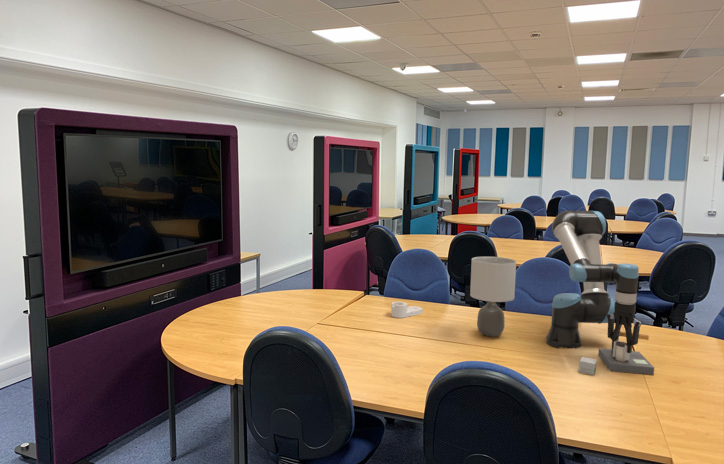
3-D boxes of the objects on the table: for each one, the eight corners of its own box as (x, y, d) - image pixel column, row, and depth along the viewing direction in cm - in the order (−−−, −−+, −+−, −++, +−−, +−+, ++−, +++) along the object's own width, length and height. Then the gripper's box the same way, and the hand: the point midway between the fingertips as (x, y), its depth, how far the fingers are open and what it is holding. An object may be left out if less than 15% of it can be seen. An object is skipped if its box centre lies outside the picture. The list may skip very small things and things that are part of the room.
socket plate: (609, 370, 199) (611, 346, 197) (598, 354, 216) (600, 332, 215) (653, 374, 195) (655, 349, 194) (638, 358, 213) (640, 335, 212)
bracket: (398, 318, 266) (398, 306, 265) (388, 314, 273) (388, 303, 272) (425, 312, 278) (425, 301, 277) (414, 309, 285) (415, 297, 284)
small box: (594, 375, 194) (594, 363, 193) (578, 372, 197) (579, 360, 196) (596, 371, 198) (597, 359, 198) (580, 367, 202) (581, 356, 201)
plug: (616, 367, 202) (618, 344, 201) (613, 364, 206) (615, 341, 204) (626, 368, 201) (628, 345, 200) (623, 365, 205) (625, 341, 204)
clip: (648, 340, 204) (648, 337, 204) (610, 335, 210) (610, 332, 210) (647, 338, 207) (648, 334, 207) (610, 332, 213) (610, 329, 213)
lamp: (465, 337, 236) (468, 261, 232) (472, 325, 255) (475, 255, 251) (510, 343, 229) (514, 265, 224) (514, 330, 248) (518, 258, 243)
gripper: (651, 305, 195) (646, 363, 198) (610, 296, 209) (606, 350, 212) (641, 308, 191) (636, 366, 194) (600, 298, 205) (596, 353, 208)
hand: (620, 358), depth 203 cm, fingers closed on plug, 4 cm apart
